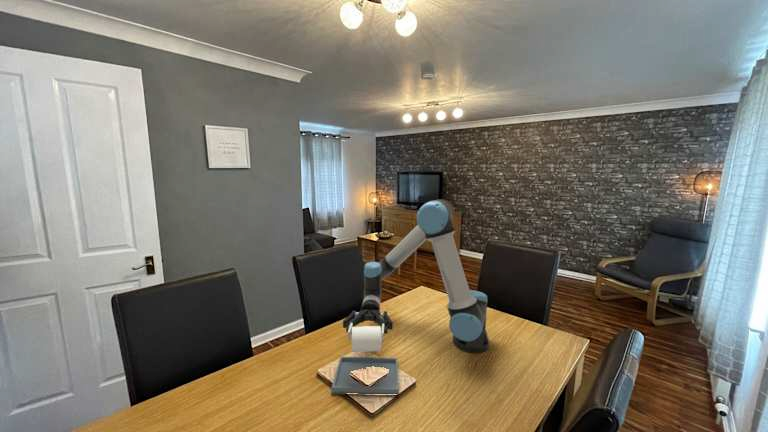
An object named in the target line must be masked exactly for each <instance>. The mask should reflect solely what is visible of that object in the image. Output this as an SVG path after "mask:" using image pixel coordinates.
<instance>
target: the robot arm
mask: <svg viewBox="0 0 768 432" xmlns="http://www.w3.org/2000/svg"><path fill="white" fill-rule="evenodd" d="M455 212H456V211H455V208H454V206H453V205H452V203H450V202H449V201H448V200H446V199H443V198H440V199H435V200H429V201H428V202H425V203H424V204H423V205H422V206H420V208H419V209H418V211H417V213H416V223H417V224H416V226H415V227H414V228H413V229H412V230H411V231H409V233H407V235H405V236H404V237H403V239H401V241H400V242H398V244H397V245H396V246H394V247H393V249H391V251H389V252H388V253H387V254H386V255H385V256H384V258H382V259H381V260H380V261H379V262H378V261H370V262H367V263H365V264H364V269H363V287H364V288H363V299H362V300H363V301H362V304H361V307H360V308H361V309H360V311H358V312H357V311H356V310H352V311H351V313H349V315H348V316H346V318H345V319H344V320H342V328H343V329H345V332H346V333H347V340H351V339H352V327H357V325H359V324H362V323H364V322H374V324H377V326H380V327H381V337H382V341H384V340H385V335H388V330H391V331H392V330H393V327H394V326H393V324H394V323H393V321H392V319H391V318H390V316H389V315H388V311H387V310H385V311H383V312H381V311H380V310H381V300H382V295H383V294H382V281H383V280H385V279H386V278H387V277H388V276H390V275H392V274H393V273H394V272H395V271H396V270H397V268H398V267H399V266H401V265H402V264H403V262H405V261H406V260H407V259H408V258H409V257H410V256H411V255H412V254H413V253H414V252H415V251H416V250H417V249H418V248H419V247H420V246H422V245H423V244H424V243H425V242H426V241H429V242H431V245H432V249H433V252H434V255H435V259H436V262H437V265H438V269H439V272H440V275H441V279H442V282H443V284H444V288H445V292H446V294H447V298H448V303H447V304H446V307H447V310H448V314H449V317H450V318H449V323H448V324H449V325H448V327H449V330H450V332H451V334H452V344H453V345H454V346H455V347H456V348H458V349H460V350H462V351H464V352H467V353H472V354H480V353H484V352H487V350H488V349H489V347H490V339H489V336H488V332H487V327H486V326H487V313H488V312H487V311H488V308H487V307H488V295H487V294H485V293H484V292H482V291H479V290H472V289H470V287H469V284H468V281H467V278H466V275H465V272H464V271H465V270H464V269H463V268H464V267H463V265H462V261H461V258H460V255H459V251H458V248H457V245H456V242H455V239H454V235H455V232H456V228H455V225H454V222H453V221H454V219H455V215H456V213H455Z"/></svg>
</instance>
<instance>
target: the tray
mask: <svg viewBox="0 0 768 432" xmlns="http://www.w3.org/2000/svg"><path fill="white" fill-rule="evenodd" d="M372 366H374V367H381V368H382V367H384V368H386V369H389V373H388V375H387V376H386V377H385V378H383V379H382V380H380V381H379V382H378V383H376V384H375V385H373V386H372V387H363V386H362V385H361V384H359V383H358V382H357V381H355V380H354V379H353V378H352V377H351V376H350V372H351V371H354V370H358V369H362V368H363V369H366V367H372ZM335 370H336V371H335V375H334V377H333V381H332V384H331V395H339V396H340V395H343V396H346V395H345V393H358V394H397V395H398V396H399V394H400V393H399V392H400V391H399V389H400V388H399V360H398V357H376V356H375V357H372V356H341V355H340V357H339V360H338V365H337V368H336V369H335Z"/></svg>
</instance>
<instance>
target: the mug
mask: <svg viewBox="0 0 768 432" xmlns="http://www.w3.org/2000/svg"><path fill="white" fill-rule="evenodd" d="M381 334H382V327H381V326H379V325H375V326H374V325H372V326H371V325H363V326H354V327H352V334H351V352H352V353H359V352H360V353H361V352H362V353H363V352H381V351H382V345H383V344H382V337H381Z"/></svg>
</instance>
